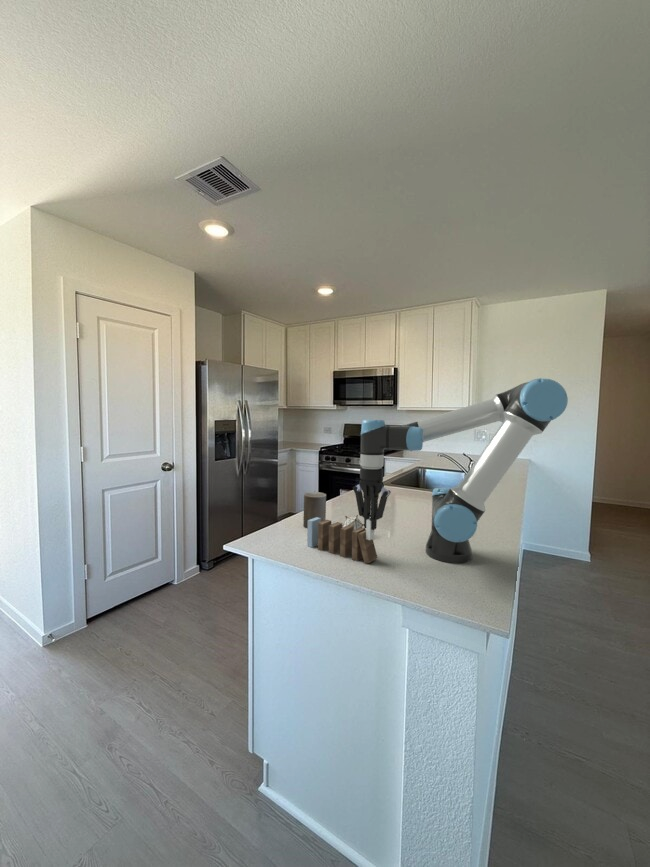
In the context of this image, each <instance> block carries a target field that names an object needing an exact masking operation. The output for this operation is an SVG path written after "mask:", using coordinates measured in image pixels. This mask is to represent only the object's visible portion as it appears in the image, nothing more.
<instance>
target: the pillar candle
mask: <svg viewBox="0 0 650 867" xmlns="http://www.w3.org/2000/svg"><path fill="white" fill-rule="evenodd" d="M326 503H327V493H324V492H319V491H317V492H316V491H309V492H305V493H304V494H303V519H302V520H303V524H302V526H303V527H304V528H305V529H308V520H310V519H313V518H316V517H318V518H321V522H322V521H325V520H327V519H326V516H327V515H326V514H327V504H326Z"/></svg>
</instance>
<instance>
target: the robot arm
mask: <svg viewBox="0 0 650 867" xmlns="http://www.w3.org/2000/svg"><path fill="white" fill-rule="evenodd" d="M568 399H569V398H568V394H567V391H566V389H565V388H564V386H563V385H561V384H560V383H559V382H558V381H556V380H553V379H550V378H541V377H540V378H535V379H532V380H529V381H527V382H524V383H521V384H519V385H516V386H514V387H512V388H510V389H508V390H505V391H503V392H501V393H497V394H494V395H493V397H492V398H491V399H488V400H484V401H481V402H477V403H474V404H471V405H468V406H465V407H464V406H463V407H461V408H457V409H454V410H451V411H447V412H445V413H441V414H438V415H435V416H430V417H428V418H424V419H421V420H417V421H414V422H411V423H408V424H402V425H399V426H390V425H386V423H385V420H384V419H363V420H362V421H361V429H360V430H361V431H360V457H359V458H360V459H359V465H360V468H359V479H360V480H359V482H358V484H357V485H355V486H352V490H353V492H354V494H355V499H356V505H357V511H358V515H359V517H362V518H363V520H364V522H363V524H364V526H363V528H365V530H366V539H367V540H371V539H373V540H374V539H375V530H377V528H378V526H377V523H378V520H380V519H382V518H383V517H384V512H385V509H386V505H387V500H388V497H389V496H390V494H391V492H392V491H391V490H389V489H388V490H387V489H386V488H385V485H384V468H383V467H384V463H385V462H384V461H385V460H384V458H385V450H394V451H410V452H413V451H414V452H415V451H417V452H418V451H421V450H423V448H424V447H423V444H424V443H425V442H429V441H432V440H435V439H436V440H437V439H439V438H443V437H447V436H450V435H454V434H457V433H462V432H465V431H468V430H471V429H475V428H479V427H482V426H483V427H484V426H487V425H490V424H492V423H497V422H501V424H500V426H499V427H498V429H497V430H496V431H495V433H494V434H493V436H492V437H491V439H490V441H489V442H488V443H487V445H486V446H485V447H484V449H483V450H482V451H481V453H480V454H479V456H478V457H477V459H476V460H475V462H474V463H473V464H472V466H471V467H470V469H469V470H468V472H467V473H466V474H465V476H464V478H462V480H461V481H460V483H459V484H458V485H457V486H452V487H450V488H449V487H435V488H433V489H432V494H431V499H432V500H431V502H432V503H431V530H430V534H429V536H428V538H427V542H426V545H425V553H426V555H427V556H429V557H430V558H432V559H434V560H436V561H441V562H445V563H450V564H451V563H452V564H453V563H454V564H455V563H456V564H460V563H467V562H469V561H471V560H472V557H473V551H472V547H471V544H470V539H471V538H472V537H474V535H475V534H476V532H477V527H478V521H480V519H481V518H482V516H483V515H484V513H485V512H486V505H485V502H486V501H487V500H488V499H489V497H490V496H491V494H492V493H493V491H495V489H496V487H497V486H498V484H499V483H500V482H501V480H503V478H504V476H505V475H506V473H507V472H508V471H509V469H510V468H511V467H512V465H513V464H514V463H515V461H516V460H517V458H518V457H519V456H520V454H521V453H522V451H523V450H524V449H525V447H526V446H527V444H528V443H529V442H530V440H531V439H532V438H533V436H535V435H541V434H543V432H544V431H545V430H546V429H547V427H548V425H549V424H550V423H551V421H554V420H556V419H557V418H559V417H561V415H563V413H564V412H565V411H566V409H567V408H568V401H569V400H568ZM380 493H381V496H380ZM379 498H380V499H379Z"/></svg>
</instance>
